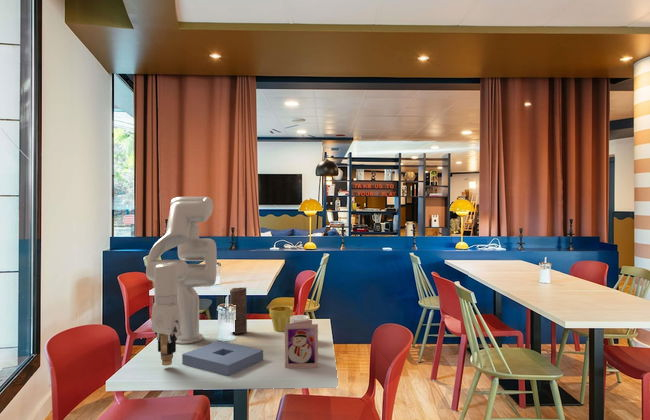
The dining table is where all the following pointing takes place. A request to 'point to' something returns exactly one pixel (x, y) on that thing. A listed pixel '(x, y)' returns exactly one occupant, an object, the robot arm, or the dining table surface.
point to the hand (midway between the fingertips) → (166, 351)
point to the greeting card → (301, 345)
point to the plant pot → (280, 317)
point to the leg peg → (165, 351)
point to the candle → (239, 308)
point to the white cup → (298, 318)
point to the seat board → (222, 357)
